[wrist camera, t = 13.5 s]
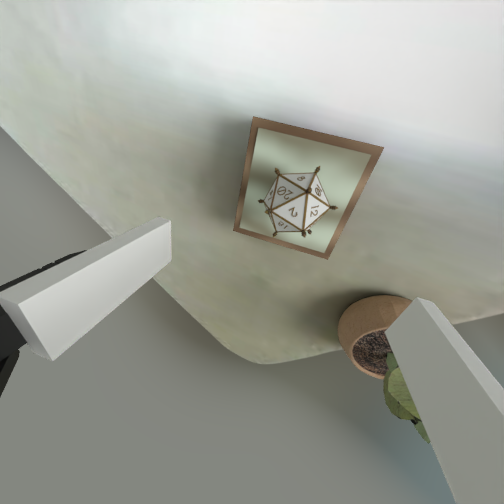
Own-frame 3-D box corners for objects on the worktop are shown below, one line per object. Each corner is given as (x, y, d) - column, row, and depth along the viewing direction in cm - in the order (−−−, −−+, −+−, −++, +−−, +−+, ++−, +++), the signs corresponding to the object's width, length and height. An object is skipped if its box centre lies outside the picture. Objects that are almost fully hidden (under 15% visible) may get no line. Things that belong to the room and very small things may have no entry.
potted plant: (428, 353, 40) (638, 708, 15) (335, 345, 46) (372, 596, 20) (456, 260, 31) (1199, 825, 5) (334, 265, 36) (403, 551, 11)
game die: (285, 196, 31) (233, 208, 25) (318, 147, 24) (257, 149, 19) (319, 240, 28) (270, 264, 23) (366, 199, 22) (313, 218, 16)
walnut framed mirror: (261, 120, 28) (252, 116, 24) (371, 147, 26) (384, 147, 22) (241, 220, 36) (232, 231, 32) (325, 245, 35) (327, 260, 30)
